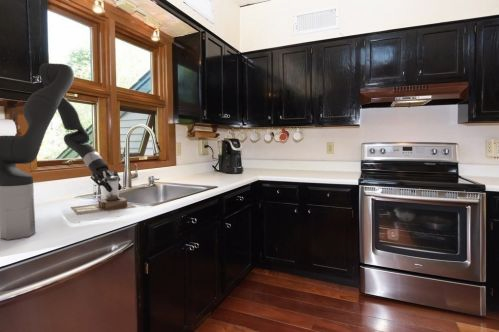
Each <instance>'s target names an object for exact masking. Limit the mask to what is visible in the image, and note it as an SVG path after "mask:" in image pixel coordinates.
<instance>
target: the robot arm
mask: <svg viewBox="0 0 499 332" xmlns="http://www.w3.org/2000/svg"><path fill="white" fill-rule="evenodd" d="M38 71H39V73H38V74H39V77H40V80H41V82H42V84H43V86H44V87H42V88H40V89H38V90H36V91H35V92H33V93H32V94H31V95H30V96H29V97H28V99H27V101H26V102H25V104H24V105H23V107H22V113H23V114H22V115H23V117H24V119H25V121H26V123H27V128H26V129H27V130H26V132H24V134H22V135H0V239H3V240H5V241H10V240H15V239H21V238H22V239H23V238H29V237H31V236H33V235H34V234H36V215H35V214H36V213H35V195H34V193H35V192H34V191H35V190H34V176H33V175H32V174H30V173H28V172H25V171H22V170H21V169H19V168H18V167H17V165H18V164H19V165H21V164H22V165H24V164H32V162H34V161H35V160H36V159H37V157H38V155H39V152H40V150H41V146H42V143H43V140H44V137H45V134H46V131H48V128H49V126H50V123H51V122H52V120H53V118H54V116H55V114H56V113H57V111H58V114H59V117H60V119H61V122H62V126H63V128H64V129H65V130H67V131H72V132H69V133H67V134H65V135H64V136H63V141H64V143H65V145H66V147H68V148H70V149H71V150H72V151H74V152H75V153H76V154H78V156H79V157H80V158H81V159H82V161H83V162H84V164H85V166H87V168H88V170H89V171H90V172H91V174H92V175H91V176H90V177H89V178H90V179H91V180H92V181H93V182H94V183H95V184H97V186H98V187H100V186H103V187H105V188H106V190H107V191H108V192H111V191H112V190H113V189H112V187H111V186H110V185H109V184H108V182H107V180H106V177H108V176H119V179H118V187H119V191H121V190H122V189H123V186H122V185H121V184H120V181H121V180H122V179H121V178H120V175H119V174H118V172H117V171H116V170H114V171H111V170H110V169H109V165H108V163H107V162H106V161H105V160H104V158H103V157H102V155H100V153H98V151H97V150H96V149H95V148H94V146H93V145H92V144H90V143H88V142H89V141H90V135H89V133H88V132H87V130H85V128H84V126H83V125H82V122H81V120H80V116H79V113H78V111H77V109H76V108H75V107H74V105H73V104H72V103H71V102H70V101H69V100H68V99H67V98H66V97H65V95H66V93H68V91H69V89H70V88H71V87H72V84H73V83H74V79H75V73H74V70H73V68H72V67H71V66H69V65H68V64H65V63H52V62H51V63H50V62H49V63H48V62H47V63H42V64H41V65H40V66H39V69H38ZM99 181H100V182H99Z"/></svg>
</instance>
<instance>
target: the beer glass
mask: <svg viewBox="0 0 499 332" xmlns="http://www.w3.org/2000/svg"><path fill="white" fill-rule="evenodd" d="M98 182H99V183H100V181H98ZM99 188H100V192H101V197H100V199H104V198H107V190H106V188H105V187H103V186H99Z"/></svg>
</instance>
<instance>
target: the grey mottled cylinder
mask: <svg viewBox="0 0 499 332" xmlns="http://www.w3.org/2000/svg"><path fill="white" fill-rule="evenodd" d="M119 177H120V175H119V176H108V177H106V180H107V182H108V184H109V185H110V186H111V187H112V189H113V190H112V191H111V192H108V191H107V202H108V201H117V200H119V197H120V193H119V191H120V190H119V187H118V179H119Z"/></svg>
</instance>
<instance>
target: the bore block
mask: <svg viewBox="0 0 499 332" xmlns="http://www.w3.org/2000/svg"><path fill="white" fill-rule="evenodd" d="M135 208H137V206H135V205H134V204H132V203H130V202H129V201H128V199H127V198H125V197H120V196H119V200H117V201H108V202H107V198H104V199H101V198H99V199H98V202H97V203H95V204H94V203H93V204H88V205H85V204H84V205H78V206H77V205H76V206H70V209H71V210H72V211H73V213H74V214H76V215H77V216H80V215H81V216H82V215H88V214H89V215H90V214H95V213H104V212H111V211H119V210H126V209H127V210H128V209H135Z"/></svg>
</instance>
